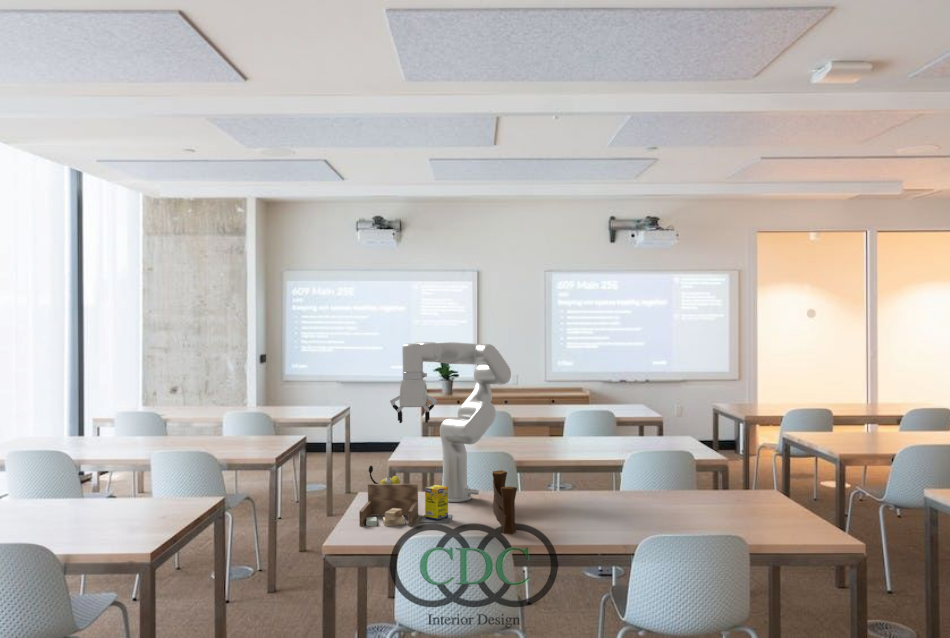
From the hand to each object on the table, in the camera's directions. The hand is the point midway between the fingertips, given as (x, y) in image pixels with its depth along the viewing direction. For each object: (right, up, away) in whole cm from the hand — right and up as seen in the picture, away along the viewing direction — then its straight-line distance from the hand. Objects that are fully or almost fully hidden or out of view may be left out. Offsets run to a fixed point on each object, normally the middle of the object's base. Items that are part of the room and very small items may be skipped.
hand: (413, 422), depth 280 cm
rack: (-7, -32, -16) cm, 36 cm away
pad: (+9, -32, -15) cm, 37 cm away
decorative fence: (+33, -32, -21) cm, 50 cm away
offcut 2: (-5, -30, -20) cm, 37 cm away
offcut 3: (-5, -33, -20) cm, 39 cm away
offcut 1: (-13, -33, -20) cm, 40 cm away
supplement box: (+9, -32, -15) cm, 36 cm away
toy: (-11, -33, +11) cm, 36 cm away
